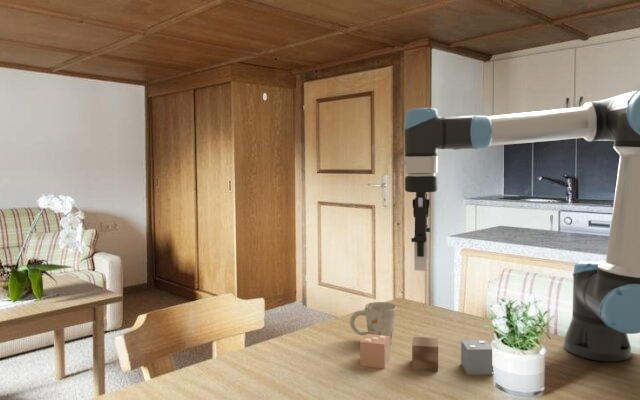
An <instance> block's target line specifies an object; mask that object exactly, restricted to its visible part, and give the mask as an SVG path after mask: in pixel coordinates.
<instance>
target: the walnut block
mask: <svg viewBox="0 0 640 400" xmlns="http://www.w3.org/2000/svg"><path fill="white" fill-rule="evenodd" d="M438 339H439V338H438V337H421V336H412V343H411V370H412V371H424V372H425V371H426V372H437V373H438V372H439V340H438Z"/></svg>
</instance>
